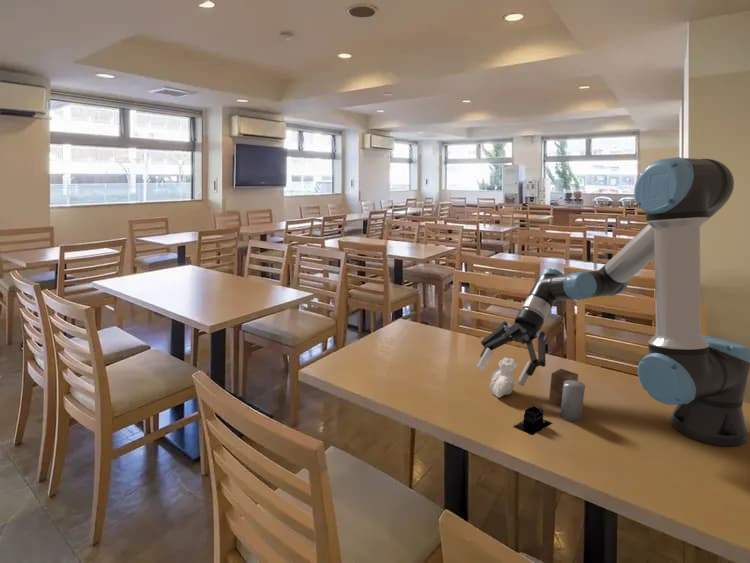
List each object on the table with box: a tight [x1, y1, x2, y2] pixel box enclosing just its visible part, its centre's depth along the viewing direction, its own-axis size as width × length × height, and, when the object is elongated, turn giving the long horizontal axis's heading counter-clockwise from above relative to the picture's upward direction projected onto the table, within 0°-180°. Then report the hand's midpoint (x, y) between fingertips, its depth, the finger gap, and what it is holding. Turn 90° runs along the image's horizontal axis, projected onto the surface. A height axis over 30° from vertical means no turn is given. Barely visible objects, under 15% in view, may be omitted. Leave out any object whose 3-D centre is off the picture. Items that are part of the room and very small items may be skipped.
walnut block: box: [548, 368, 579, 406], centre depth 133 cm, size 5×5×8 cm
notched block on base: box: [512, 405, 553, 436], centre depth 120 cm, size 12×7×5 cm, turn 130°
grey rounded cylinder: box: [559, 380, 586, 423], centre depth 123 cm, size 5×5×9 cm
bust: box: [488, 356, 518, 398], centre depth 137 cm, size 12×8×11 cm
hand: (499, 376), depth 137 cm, fingers open, 13 cm apart
